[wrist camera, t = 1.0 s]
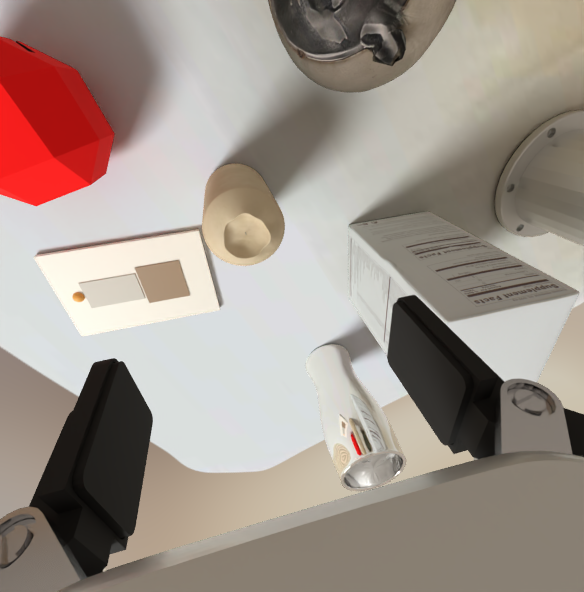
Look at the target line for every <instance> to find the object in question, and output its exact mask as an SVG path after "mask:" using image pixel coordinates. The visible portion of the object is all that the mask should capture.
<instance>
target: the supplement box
mask: <svg viewBox="0 0 584 592" xmlns="http://www.w3.org/2000/svg"><path fill="white" fill-rule="evenodd" d="M410 295H416V296H417V297H418V298H419V299H420V300H421V301H422V302H423V303H424V304H425V305H426V306H427V307H428V308H429V309H430V310H432V311H433V312H434V313H435V314H436V315H437V316H438V317H439V318H440V319H441V320H442V321H443V322H444V323H445V324H446V325H447V326H448V327H449V328H450V329H451V330H452V331H453V332H454V333H455V334H456V335H457V336H458V337H459V338H460V339H461V340H462V341H463V342H464V343H465V344H466V345H467V346H468V347H470V348H471V349H472V350H473V351H474V352H475V353H476V354H477V355H478V356H479V357H480V358H481V359H482V360H483V361H484V362H485V363H486V364H487V365H488V366H489V367H490V368H491V369H492V370H493V371H494V372H495V373H496V374H497V375H498V376H499V377H500V378H501V379H502V380H503V381H504V382H505V381H507V380H510V379H519V378H520V379H526V380H531V381H533V382H536V383H537V381H538V379H539V377H540V375H541V372H542V371H543V369H544V366H545V364H546V362H547V360H548V358H549V356H550V354H551V352H552V349H553V348H554V345H555V343H556V341H557V339H558V337H559V335H560V333H561V331H562V329H563V326H564V325H565V322H566V320H567V318H568V316H569V314H570V312H571V310H572V307H573V305H574V303H575V301H576V299H577V297H578V295H579V291H577V290H575V289H573V288H572V287H570V286H568V285H566V284H564V283H562V282H560V281H558V280H557V279H555V278H553V277H551V276H549V275H547V274H545V273H543V272H542V271H540V270H538V269H536V268H534V267H532V266H530V265H528V264H526V263H525V262H523V261H521V260H519V259H517V258H515V257H513V256H511V255H510V254H508V253H506V252H504V251H502V250H500V249H499V248H497V247H495V246H493V245H491V244H489V243H487V242H485V241H483V240H482V239H480V238H478V237H476V236H474V235H472V234H470V233H469V232H467V231H465V230H463V229H461V228H459V227H457V226H455V225H453V224H451V223H449V222H448V221H446V220H444V219H442V218H440V217H438V216H437V215H435V214H433V213H431V212H429V211H426V212H420V213H414V214H408V215H402V216H396V217H391V218H385V219H379V220H373V221H368V222H362V223H356V224H351V225H349V226H348V298H349V300H350V301H351V303H352V304H353V306H354V307H355V309H356V310H357V312H358V314H359V315H360V316H361V318H362V319H363V321H364V322H365V324H366V326H367V327H368V328H369V330H370V332H371V333H372V335H373V336H374V338H375V339H376V341H377V342H378V344H379V345H380V347H381V348H382V350H383V351H384V352H385V354H386V356H387V353H388V344H389V335H390V326H391V317H392V308H393V304H394V303H396V302H397V299H398V298H400V297H405V296H410Z"/></svg>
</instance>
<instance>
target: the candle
mask: <svg viewBox="0 0 584 592" xmlns="http://www.w3.org/2000/svg"><path fill="white" fill-rule="evenodd" d="M284 230H285V223H284V217H283V214H282V212H281V210H280V208H279V206H278V204H277V202H276V200H275V199H274V197H273V195H272V194H271V192H270V190H269V188H268V187H267V185H266V183H265V181H264V180H263V178H262V177H261V176H260V175H259V173H258V172H256V171H255V170H254V169H252V168H251V167H249V166H246V165H243V164H237V163H233V164H227V165H224V166H222V167H220V168H218V169H217V170H216V171H215V172H214V173H213V174H212V175H211V176H210V178H209V180H208V182H207V184H206V189H205V197H204V209H203V221H202V231H203V236H204V239H205V242H206V244H207V246H208V247H209V249H210V250H211V251H212V252H213V253H214V254H215V255H216V256H217V257H218V258H220V259H221V260H223V261H225V262H227V263H230V264H234V265H240V266H248V265H254V264H257V263H260V262H262V261H264V260H266V259H267V258H269V257H270V256H271V255H272V254H273V253H274V252H275V251H276V250H277V249H278V247H279V246H280V244H281V242H282V239H283V236H284Z"/></svg>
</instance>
